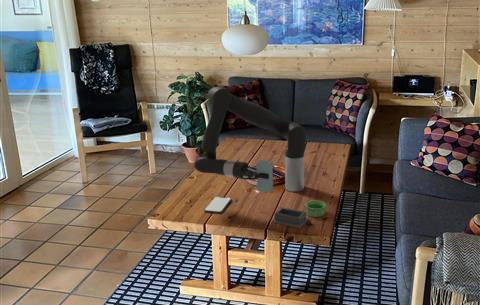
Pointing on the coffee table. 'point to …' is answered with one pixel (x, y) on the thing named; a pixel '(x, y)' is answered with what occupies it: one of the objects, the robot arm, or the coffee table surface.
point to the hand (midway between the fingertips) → (270, 175)
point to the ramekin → (315, 208)
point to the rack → (290, 217)
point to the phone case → (218, 205)
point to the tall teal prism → (267, 168)
